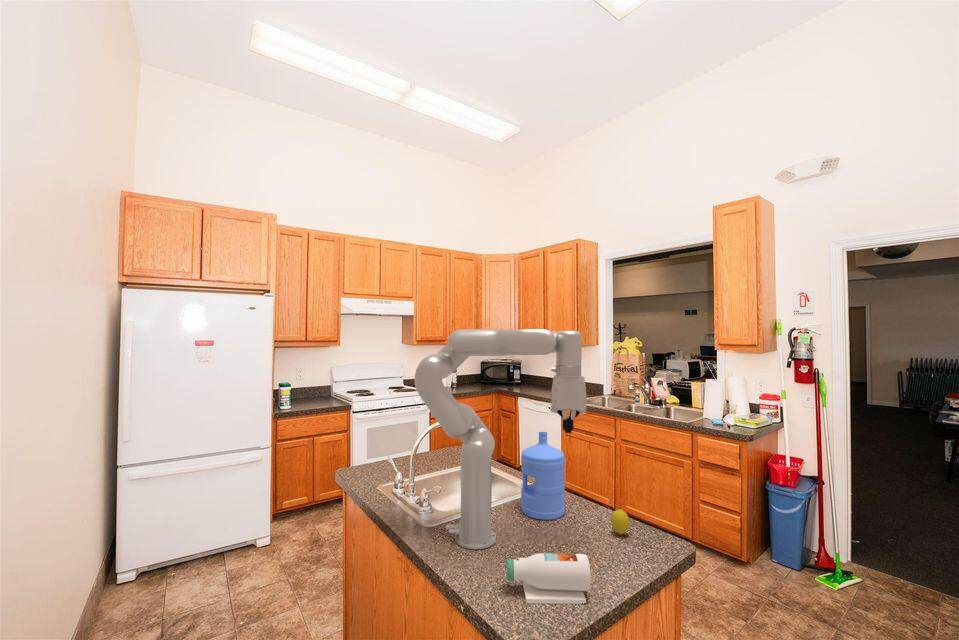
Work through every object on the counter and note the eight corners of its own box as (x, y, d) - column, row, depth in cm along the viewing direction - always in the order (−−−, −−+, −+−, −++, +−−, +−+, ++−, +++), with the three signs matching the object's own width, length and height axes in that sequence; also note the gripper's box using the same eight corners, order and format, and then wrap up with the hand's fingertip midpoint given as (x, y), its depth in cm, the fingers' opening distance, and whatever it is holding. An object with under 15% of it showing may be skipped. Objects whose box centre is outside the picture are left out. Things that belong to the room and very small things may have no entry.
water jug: (563, 504, 153) (563, 428, 154) (566, 522, 137) (566, 439, 139) (521, 501, 155) (522, 427, 156) (519, 519, 140) (520, 436, 141)
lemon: (621, 529, 133) (621, 504, 133) (633, 537, 128) (633, 511, 128) (607, 532, 131) (607, 506, 131) (619, 540, 126) (619, 513, 126)
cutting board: (526, 603, 95) (526, 599, 95) (518, 561, 113) (518, 557, 113) (585, 604, 95) (585, 599, 95) (568, 561, 113) (568, 558, 113)
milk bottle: (592, 571, 95) (507, 568, 96) (591, 599, 97) (507, 596, 98) (585, 547, 103) (506, 544, 104) (584, 573, 104) (506, 571, 105)
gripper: (545, 371, 120) (544, 434, 119) (596, 373, 119) (595, 436, 119) (542, 369, 128) (541, 428, 127) (590, 370, 127) (590, 430, 126)
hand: (567, 432), depth 123 cm, fingers closed
